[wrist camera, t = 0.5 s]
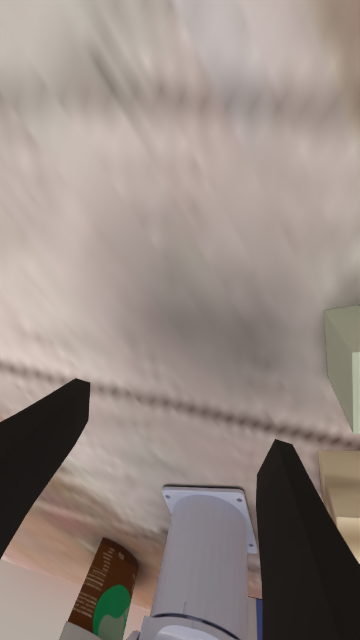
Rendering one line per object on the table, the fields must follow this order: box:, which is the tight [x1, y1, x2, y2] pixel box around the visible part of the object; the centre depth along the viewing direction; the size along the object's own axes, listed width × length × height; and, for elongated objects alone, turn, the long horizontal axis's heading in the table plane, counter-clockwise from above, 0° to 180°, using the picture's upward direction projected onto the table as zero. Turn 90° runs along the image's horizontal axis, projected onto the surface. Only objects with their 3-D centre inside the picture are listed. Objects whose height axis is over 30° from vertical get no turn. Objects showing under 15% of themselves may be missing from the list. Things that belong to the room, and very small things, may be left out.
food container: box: [59, 538, 138, 640], centre depth 32 cm, size 12×6×10 cm, turn 172°
